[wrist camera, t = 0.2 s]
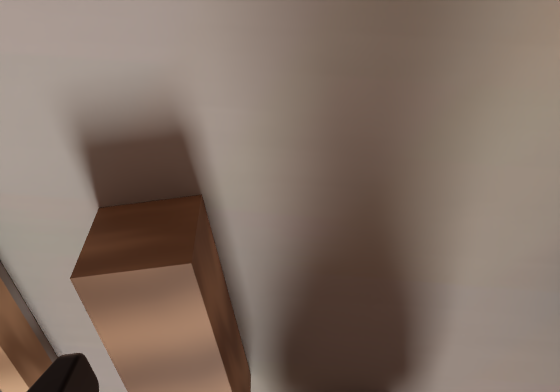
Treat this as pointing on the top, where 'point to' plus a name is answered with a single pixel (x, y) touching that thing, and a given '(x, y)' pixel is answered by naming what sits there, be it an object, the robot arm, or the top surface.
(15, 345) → the wooden tray
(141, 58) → the top surface
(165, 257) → the brown wooden block
